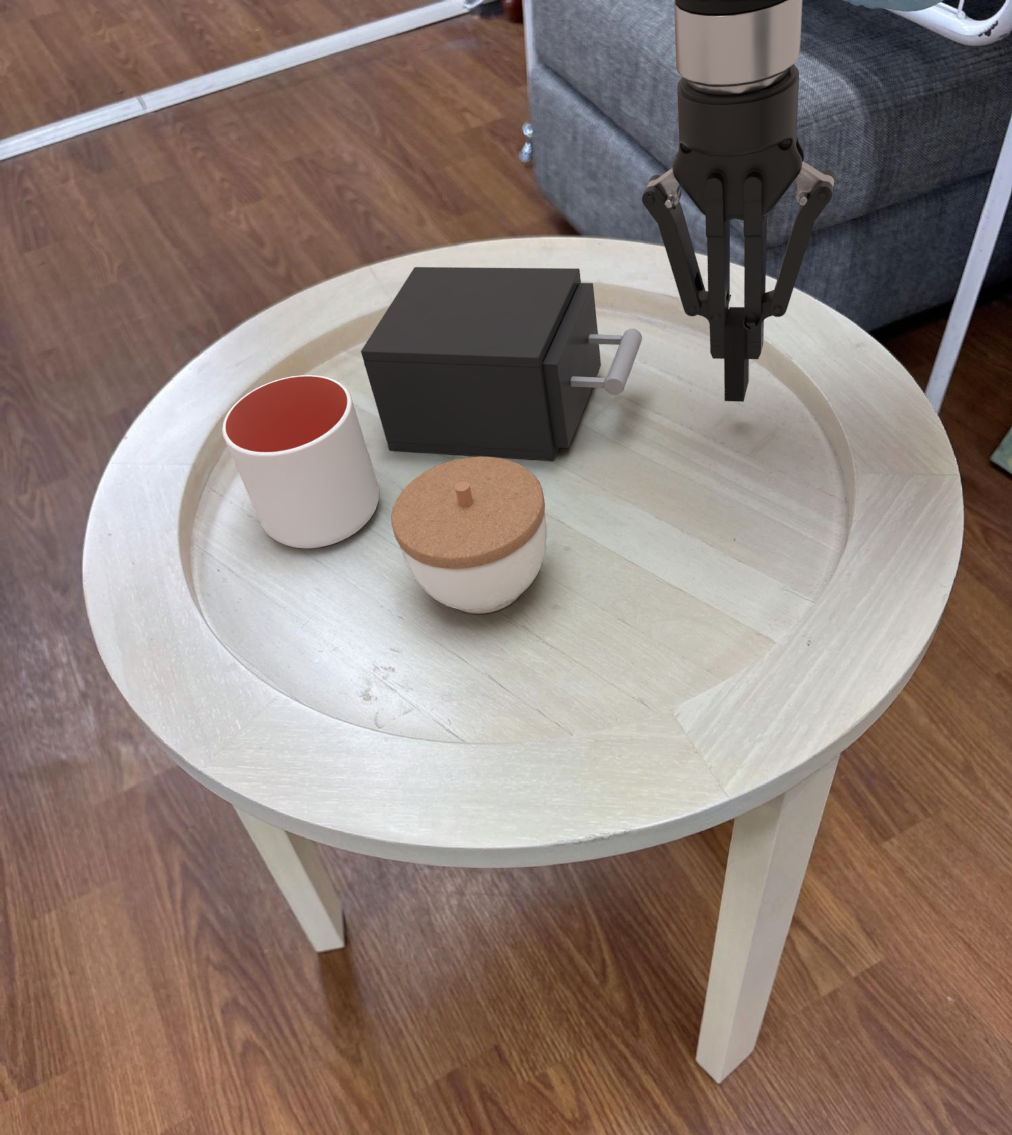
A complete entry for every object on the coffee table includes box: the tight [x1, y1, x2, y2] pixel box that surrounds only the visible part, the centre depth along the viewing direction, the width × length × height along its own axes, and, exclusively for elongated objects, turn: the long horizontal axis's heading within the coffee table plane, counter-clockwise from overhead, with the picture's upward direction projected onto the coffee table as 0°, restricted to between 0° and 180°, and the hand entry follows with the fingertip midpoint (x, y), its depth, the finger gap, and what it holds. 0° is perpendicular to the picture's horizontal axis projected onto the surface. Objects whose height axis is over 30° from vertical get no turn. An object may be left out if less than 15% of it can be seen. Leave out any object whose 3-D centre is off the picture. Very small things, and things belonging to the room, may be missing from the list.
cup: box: [221, 374, 380, 549], centre depth 84 cm, size 10×10×10 cm
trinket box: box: [390, 456, 548, 615], centre depth 76 cm, size 11×11×9 cm
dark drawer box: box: [360, 266, 582, 462], centre depth 90 cm, size 15×13×10 cm
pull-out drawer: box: [543, 282, 643, 449], centre depth 89 cm, size 18×12×8 cm, turn 73°
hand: (736, 390), depth 84 cm, fingers closed
